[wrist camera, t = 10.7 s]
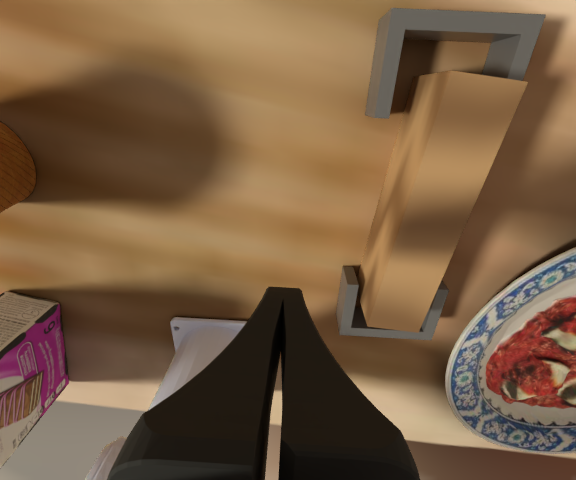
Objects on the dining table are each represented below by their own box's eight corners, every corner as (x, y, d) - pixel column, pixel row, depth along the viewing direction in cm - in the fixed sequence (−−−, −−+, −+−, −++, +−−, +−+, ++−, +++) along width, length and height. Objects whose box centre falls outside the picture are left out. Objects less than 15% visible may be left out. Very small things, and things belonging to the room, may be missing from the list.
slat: (396, 288, 24) (418, 332, 20) (354, 283, 24) (367, 326, 20) (469, 85, 18) (528, 81, 13) (412, 77, 17) (451, 70, 13)
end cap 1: (419, 318, 25) (431, 340, 23) (335, 313, 25) (339, 334, 23) (434, 271, 23) (448, 289, 21) (342, 266, 23) (347, 284, 21)
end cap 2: (481, 120, 18) (507, 124, 16) (365, 115, 18) (374, 117, 16) (511, 25, 16) (545, 14, 14) (378, 20, 16) (391, 8, 14)
